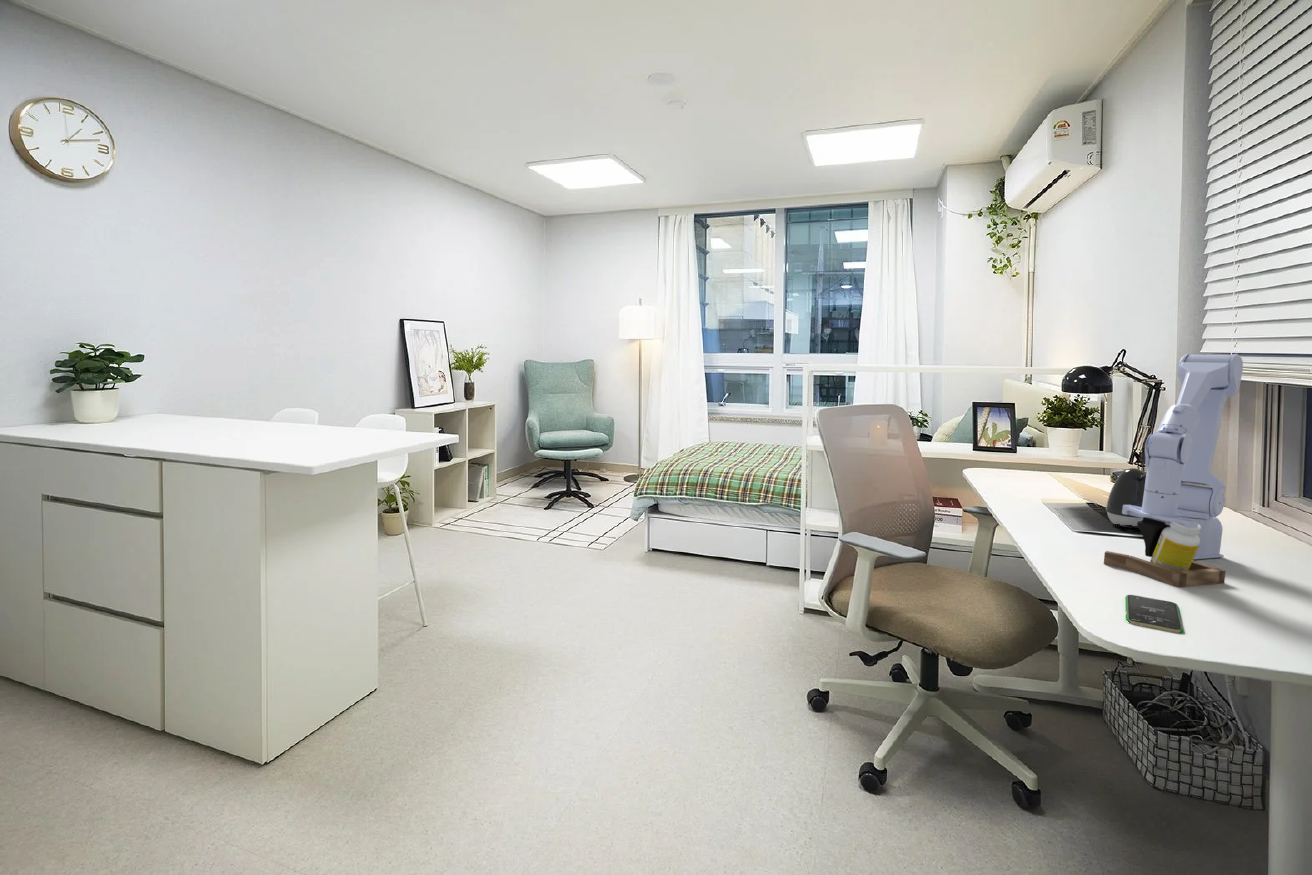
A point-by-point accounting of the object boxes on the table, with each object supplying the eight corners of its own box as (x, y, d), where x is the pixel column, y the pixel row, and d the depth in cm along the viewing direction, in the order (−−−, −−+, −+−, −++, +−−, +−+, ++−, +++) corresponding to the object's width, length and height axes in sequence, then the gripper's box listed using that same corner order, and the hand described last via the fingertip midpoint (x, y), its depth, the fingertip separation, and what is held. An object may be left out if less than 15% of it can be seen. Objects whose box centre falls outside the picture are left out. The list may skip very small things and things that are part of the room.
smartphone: (1178, 602, 117) (1184, 631, 105) (1177, 607, 117) (1184, 636, 105) (1125, 593, 121) (1126, 619, 109) (1125, 598, 121) (1125, 625, 109)
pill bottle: (1193, 580, 131) (1214, 532, 127) (1161, 578, 131) (1181, 530, 127) (1172, 562, 137) (1191, 516, 132) (1141, 560, 137) (1160, 514, 133)
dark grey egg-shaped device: (1117, 530, 166) (1123, 471, 164) (1097, 520, 176) (1102, 464, 174) (1162, 532, 164) (1168, 472, 162) (1139, 522, 175) (1145, 465, 173)
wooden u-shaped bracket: (1156, 558, 144) (1157, 547, 144) (1231, 582, 129) (1233, 569, 129) (1100, 562, 140) (1101, 551, 140) (1171, 587, 126) (1172, 575, 125)
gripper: (1113, 484, 140) (1105, 546, 142) (1180, 499, 126) (1171, 568, 128) (1140, 484, 142) (1132, 546, 144) (1210, 499, 128) (1200, 567, 130)
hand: (1152, 556), depth 136 cm, fingers closed, pressing on pill bottle
